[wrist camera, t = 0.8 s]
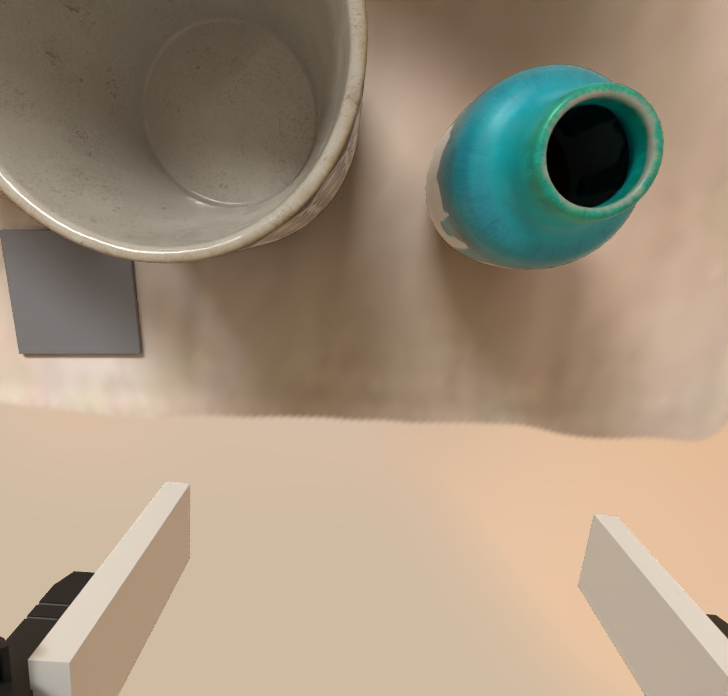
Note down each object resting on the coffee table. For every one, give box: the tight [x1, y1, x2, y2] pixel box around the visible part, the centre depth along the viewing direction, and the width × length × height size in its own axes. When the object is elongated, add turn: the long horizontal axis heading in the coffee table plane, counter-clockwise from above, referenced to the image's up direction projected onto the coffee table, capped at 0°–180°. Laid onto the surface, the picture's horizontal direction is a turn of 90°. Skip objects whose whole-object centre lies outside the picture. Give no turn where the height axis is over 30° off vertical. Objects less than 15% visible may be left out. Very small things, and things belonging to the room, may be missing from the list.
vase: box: [425, 64, 663, 270], centre depth 29 cm, size 11×11×19 cm
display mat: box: [0, 230, 142, 354], centre depth 40 cm, size 10×10×1 cm
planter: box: [0, 0, 368, 263], centre depth 29 cm, size 19×19×16 cm
